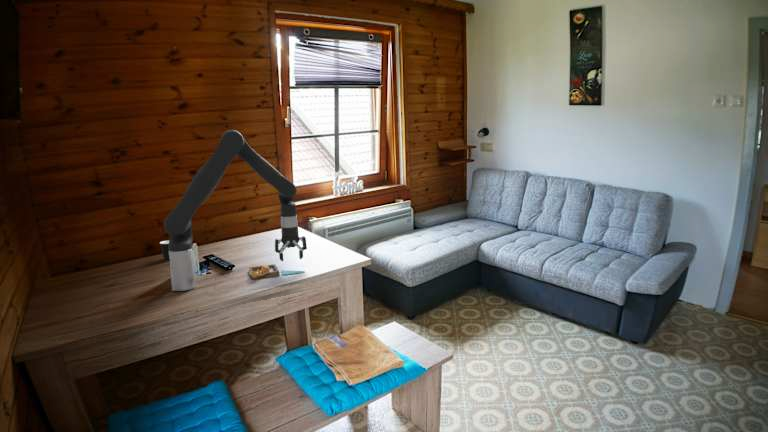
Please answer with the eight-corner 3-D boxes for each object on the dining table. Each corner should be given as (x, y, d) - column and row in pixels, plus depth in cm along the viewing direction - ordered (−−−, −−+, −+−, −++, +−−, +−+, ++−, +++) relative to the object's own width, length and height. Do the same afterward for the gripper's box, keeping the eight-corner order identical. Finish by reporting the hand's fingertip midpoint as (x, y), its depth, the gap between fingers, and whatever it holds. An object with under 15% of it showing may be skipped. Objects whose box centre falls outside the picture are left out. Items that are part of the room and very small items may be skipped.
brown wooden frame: (252, 279, 194) (251, 274, 194) (249, 271, 207) (249, 267, 207) (279, 275, 198) (279, 271, 198) (275, 268, 211) (275, 264, 211)
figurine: (276, 266, 201) (263, 264, 190) (274, 279, 200) (261, 277, 189) (260, 265, 203) (246, 262, 192) (258, 278, 202) (243, 276, 191)
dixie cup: (179, 262, 229) (177, 241, 227) (162, 264, 225) (160, 244, 223) (176, 259, 235) (174, 239, 234) (160, 261, 231) (158, 241, 229)
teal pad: (283, 275, 198) (283, 274, 198) (279, 270, 208) (279, 269, 207) (305, 272, 202) (305, 271, 202) (300, 267, 211) (300, 266, 211)
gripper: (274, 228, 195) (277, 263, 198) (306, 225, 200) (308, 259, 203) (272, 225, 202) (274, 259, 205) (303, 223, 207) (305, 256, 210)
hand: (291, 259), depth 204 cm, fingers open, 8 cm apart
